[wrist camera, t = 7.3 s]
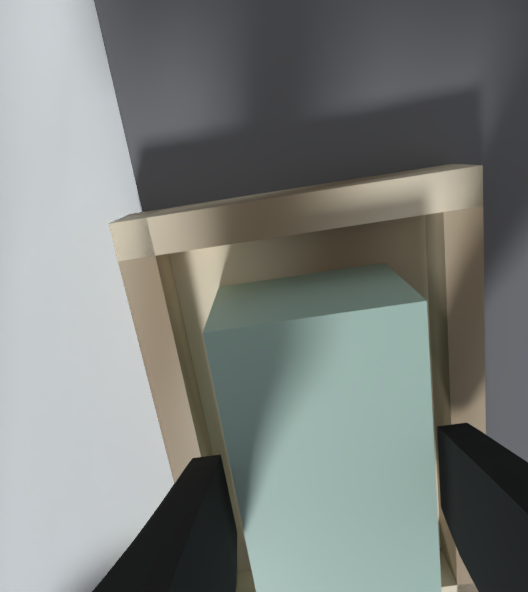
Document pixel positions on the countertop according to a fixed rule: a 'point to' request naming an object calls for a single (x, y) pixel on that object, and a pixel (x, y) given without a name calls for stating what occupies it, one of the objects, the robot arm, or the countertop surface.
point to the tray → (298, 261)
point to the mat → (339, 120)
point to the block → (329, 429)
